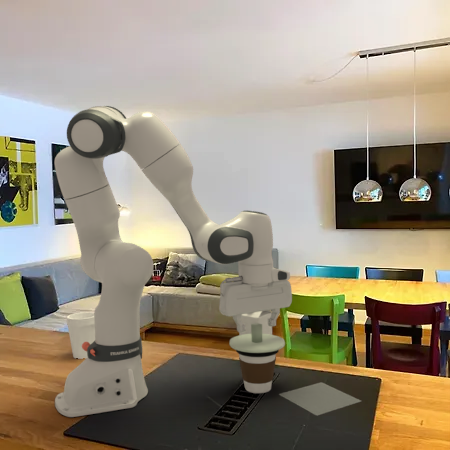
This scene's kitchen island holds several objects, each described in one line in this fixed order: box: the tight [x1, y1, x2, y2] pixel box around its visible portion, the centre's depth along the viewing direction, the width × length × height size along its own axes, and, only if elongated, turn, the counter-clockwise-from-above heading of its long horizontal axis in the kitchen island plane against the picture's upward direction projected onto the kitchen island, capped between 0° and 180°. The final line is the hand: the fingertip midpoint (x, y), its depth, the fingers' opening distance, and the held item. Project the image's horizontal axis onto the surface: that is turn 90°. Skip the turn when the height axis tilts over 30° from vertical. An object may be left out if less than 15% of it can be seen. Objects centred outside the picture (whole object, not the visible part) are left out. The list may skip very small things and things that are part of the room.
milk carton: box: [238, 310, 273, 336], centre depth 140 cm, size 7×7×19 cm
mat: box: [278, 381, 362, 417], centre depth 114 cm, size 14×14×1 cm
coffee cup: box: [235, 349, 280, 394], centre depth 120 cm, size 11×11×12 cm
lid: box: [229, 323, 286, 353], centre depth 120 cm, size 14×14×5 cm
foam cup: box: [66, 311, 95, 360], centre depth 151 cm, size 10×9×13 cm
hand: (256, 328), depth 119 cm, fingers open, 8 cm apart
